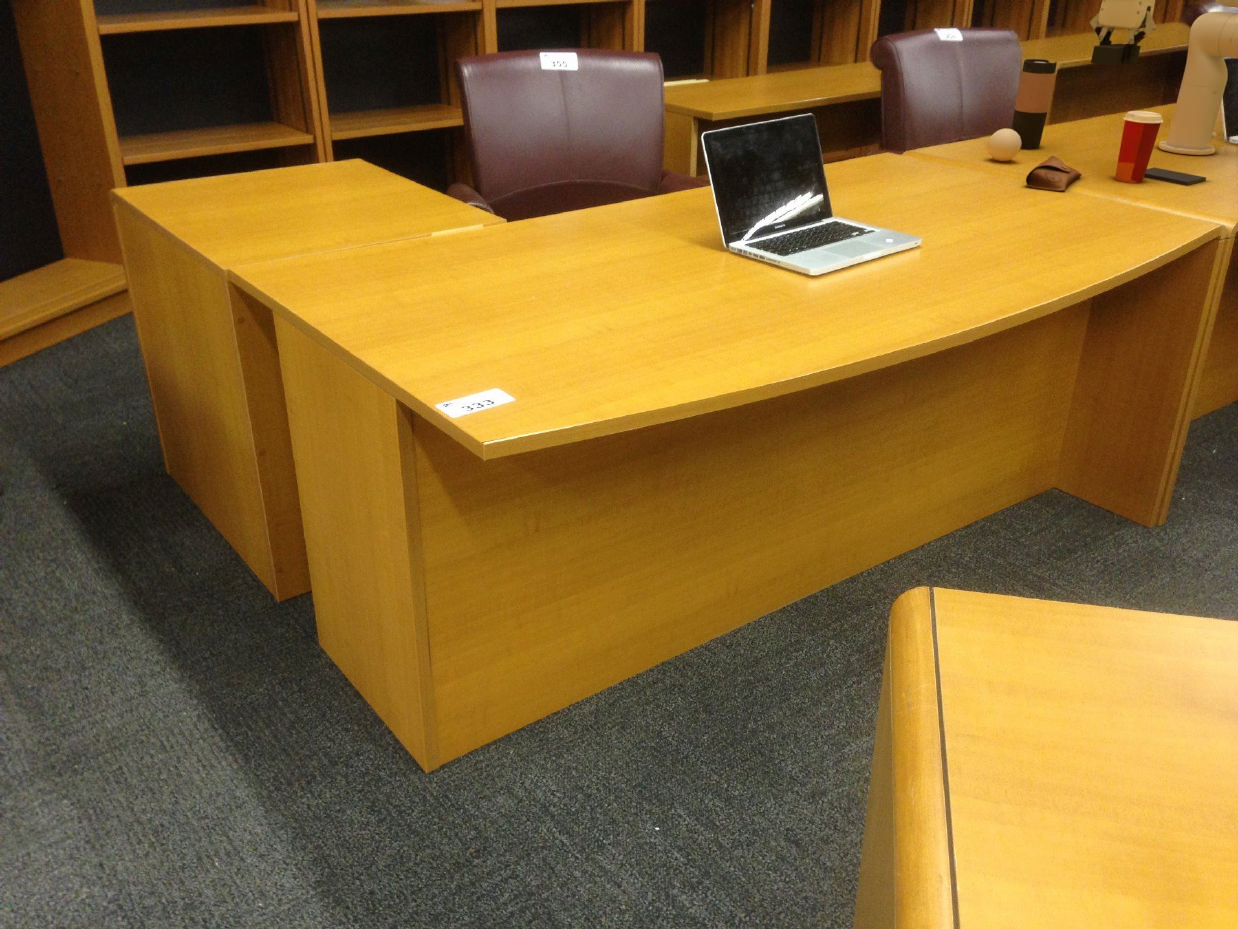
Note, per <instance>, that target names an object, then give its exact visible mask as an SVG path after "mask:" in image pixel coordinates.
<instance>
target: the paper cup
mask: <svg viewBox="0 0 1238 929" xmlns="http://www.w3.org/2000/svg"><path fill="white" fill-rule="evenodd" d="M1122 118H1123V119H1122V120H1124V123H1123V130H1122V134H1121V140H1120V146H1119V151H1118V158H1117V163H1116V168H1115V169H1116V170H1115V176H1114V179H1115V181H1118V182H1121V183H1122V182H1123V183H1128V184H1129V183H1130V184H1140V183H1143V181H1144V178H1145V177H1144V175H1145V172H1146V169H1148V166H1149V164H1150V163H1149V162H1150V160H1151V156H1152V154H1153V151H1154V147H1155V144H1156V140H1157V138H1158V134H1159V131H1160V128H1161V124H1162V123H1164V120H1163V116H1162V114H1161V113H1158V112H1154V111H1145V110H1130V111H1128V112H1127V113H1125V116H1124V117H1122Z"/></svg>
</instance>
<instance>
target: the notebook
mask: <svg viewBox="0 0 1238 929" xmlns="http://www.w3.org/2000/svg"><path fill="white" fill-rule="evenodd" d="M1144 178H1147V179H1152V180H1158V181H1161V182H1166V183H1172V184H1176V185H1177V184H1178V185H1182V186H1192V185H1196V184H1199V183H1203V182H1206V181H1207V177H1205V176H1201V175H1197V174H1196V175H1195V174H1190V173H1186V172H1180V171H1177V170H1170V169H1164V168H1159V167H1155V166H1154V167H1150V168H1147V169H1146V172H1145V175H1144Z"/></svg>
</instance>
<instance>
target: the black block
mask: <svg viewBox="0 0 1238 929" xmlns="http://www.w3.org/2000/svg"><path fill="white" fill-rule="evenodd" d="M1126 44H1127V43H1111V44H1110V45H1100V44H1098V45H1094V46H1093V50H1092V55H1091V60H1090V64H1095V65H1101V66H1102V65H1104V66H1111V67H1112V66H1121V65H1122V66H1123V64H1122V57H1123V53H1124V48H1125V45H1126ZM1141 47H1142V46H1141V45H1139V44H1137V48H1136V52H1135V56H1134V59H1133V60H1132V63H1127V64H1126V65H1130V64H1137V63H1138V60H1139V56H1140V51H1141Z"/></svg>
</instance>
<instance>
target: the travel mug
mask: <svg viewBox="0 0 1238 929" xmlns="http://www.w3.org/2000/svg"><path fill="white" fill-rule="evenodd" d="M1022 64H1023V65H1022V70H1021V74H1020V75H1021V76H1020V79H1019V85H1018V90H1017V94H1016V95H1017V96H1016V100H1015V105H1014V110H1013V116H1012V117H1013V118H1012V124H1011V129H1012V130H1014V131H1015V132H1017V133H1018V135H1019V136H1020V138H1021V146H1022V147H1021V148H1020V150H1037V149H1039V148H1040V146H1041V142H1042V137H1043V132H1044V130H1045V129H1044V128H1045V125H1046V120H1047V115H1048V111H1049V106H1050V102H1051V96H1052V90H1053V85H1054V80H1055V74H1056V69H1057V65H1058V62H1057V61H1055V62H1050V61H1049V59H1044V58H1043V59H1041V58H1028V59H1024V60H1023V63H1022Z"/></svg>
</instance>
